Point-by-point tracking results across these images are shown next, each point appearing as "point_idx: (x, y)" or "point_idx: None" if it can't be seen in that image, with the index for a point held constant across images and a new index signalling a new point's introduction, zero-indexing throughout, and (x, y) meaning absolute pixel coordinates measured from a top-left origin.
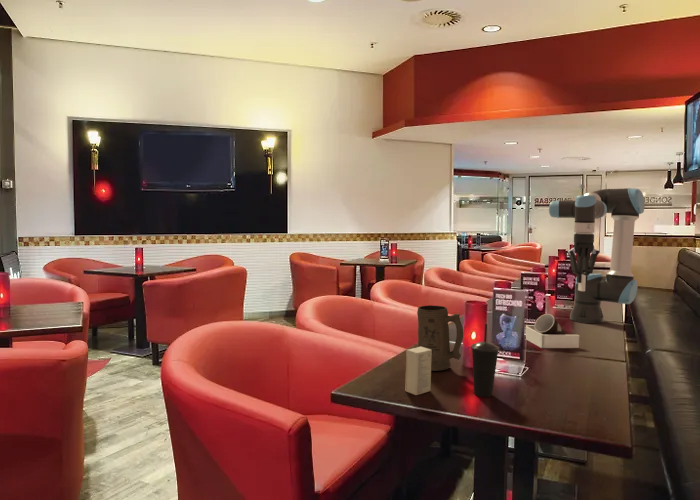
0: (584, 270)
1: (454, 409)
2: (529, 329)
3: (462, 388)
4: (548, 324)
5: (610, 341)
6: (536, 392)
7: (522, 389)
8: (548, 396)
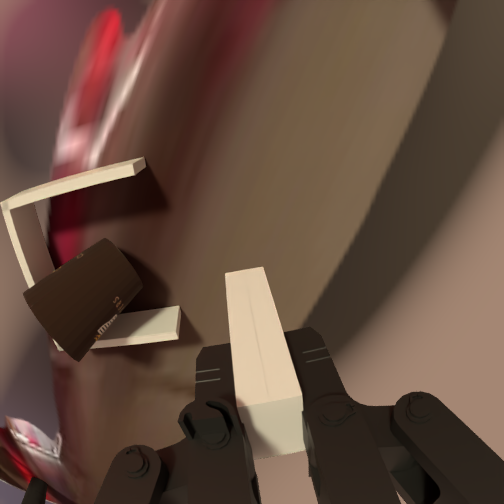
0: (346, 465)
1: None
2: (21, 265)
3: (18, 469)
4: (72, 273)
5: (341, 200)
6: (84, 487)
7: (69, 481)
8: (96, 493)
